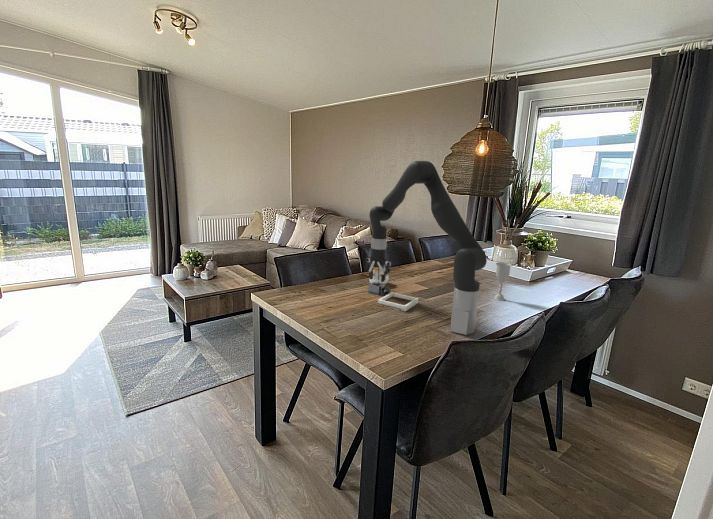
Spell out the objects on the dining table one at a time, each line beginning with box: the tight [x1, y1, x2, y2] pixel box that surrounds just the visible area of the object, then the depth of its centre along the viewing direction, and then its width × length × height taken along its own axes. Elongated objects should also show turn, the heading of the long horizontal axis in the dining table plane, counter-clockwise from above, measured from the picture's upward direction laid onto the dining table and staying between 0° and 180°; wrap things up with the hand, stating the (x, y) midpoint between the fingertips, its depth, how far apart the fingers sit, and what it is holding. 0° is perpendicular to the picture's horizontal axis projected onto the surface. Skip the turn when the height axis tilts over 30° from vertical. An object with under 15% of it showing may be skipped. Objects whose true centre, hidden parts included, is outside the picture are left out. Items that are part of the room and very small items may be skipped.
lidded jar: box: [368, 269, 390, 285], centre depth 203 cm, size 11×11×9 cm
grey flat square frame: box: [377, 291, 419, 312], centre depth 176 cm, size 14×14×2 cm
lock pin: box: [374, 267, 380, 285], centre depth 188 cm, size 3×3×13 cm
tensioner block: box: [364, 282, 395, 298], centre depth 189 cm, size 9×12×5 cm
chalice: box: [493, 262, 513, 302], centre depth 187 cm, size 7×7×18 cm
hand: (377, 280), depth 188 cm, fingers open, 6 cm apart
